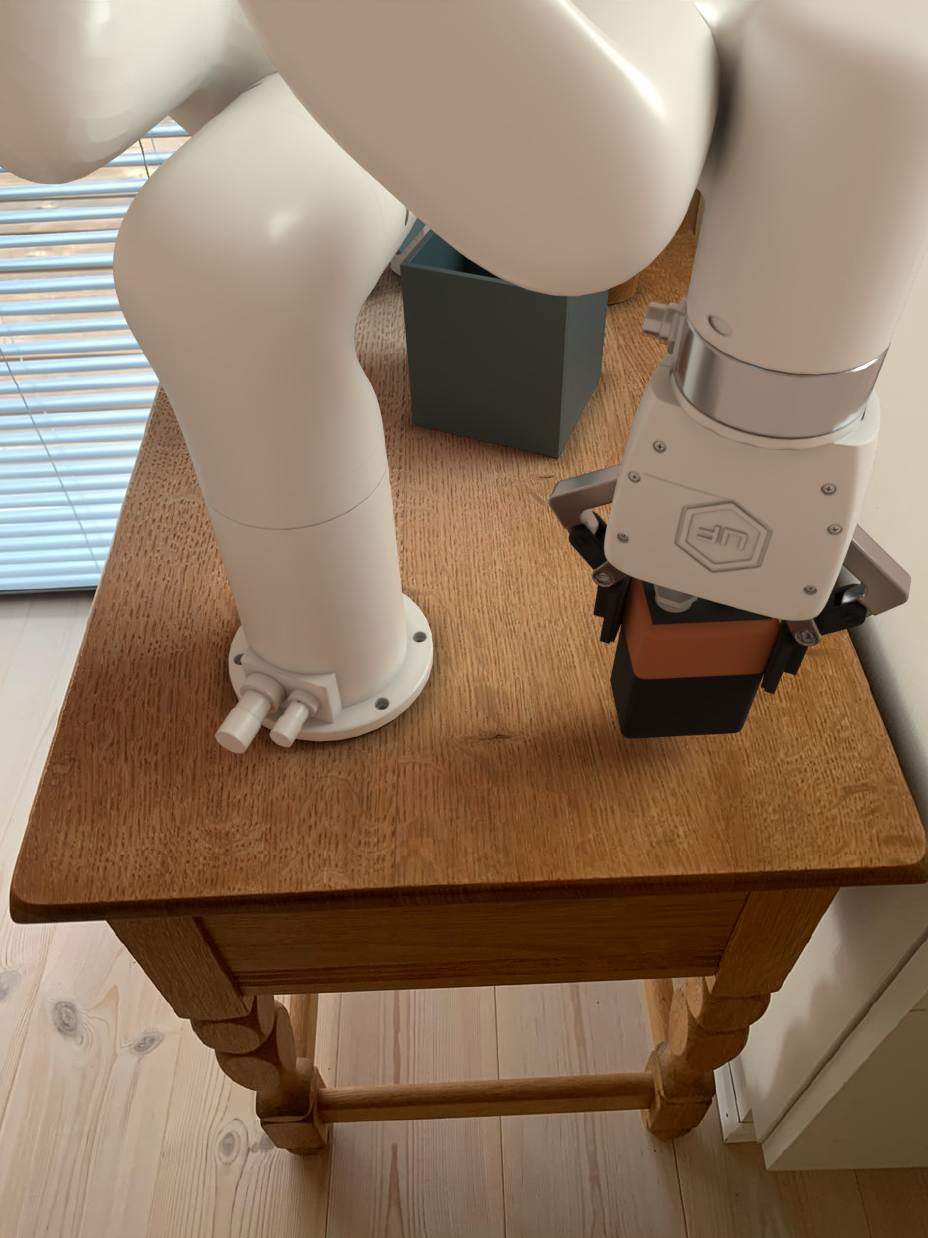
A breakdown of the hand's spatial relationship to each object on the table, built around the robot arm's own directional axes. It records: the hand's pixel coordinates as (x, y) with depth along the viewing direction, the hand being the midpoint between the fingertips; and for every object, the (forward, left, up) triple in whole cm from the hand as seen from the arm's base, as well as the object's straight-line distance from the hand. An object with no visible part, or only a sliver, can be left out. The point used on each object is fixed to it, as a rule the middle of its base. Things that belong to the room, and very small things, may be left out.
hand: (691, 646), depth 51 cm
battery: (0, 0, -6) cm, 6 cm away
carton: (+27, +20, -8) cm, 35 cm away
